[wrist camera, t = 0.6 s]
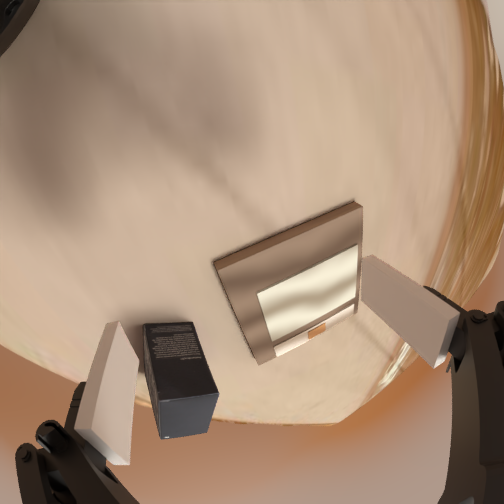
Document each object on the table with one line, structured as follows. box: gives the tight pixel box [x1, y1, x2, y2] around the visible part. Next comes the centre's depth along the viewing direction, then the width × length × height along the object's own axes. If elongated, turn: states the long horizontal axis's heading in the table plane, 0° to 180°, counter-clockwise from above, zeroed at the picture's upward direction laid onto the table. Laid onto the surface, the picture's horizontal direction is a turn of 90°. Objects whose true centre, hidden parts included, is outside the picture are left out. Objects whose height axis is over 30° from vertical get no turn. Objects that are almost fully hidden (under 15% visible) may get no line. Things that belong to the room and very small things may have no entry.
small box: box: [143, 322, 219, 439], centre depth 28 cm, size 11×6×10 cm, turn 165°
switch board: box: [214, 202, 363, 365], centre depth 35 cm, size 20×18×2 cm
